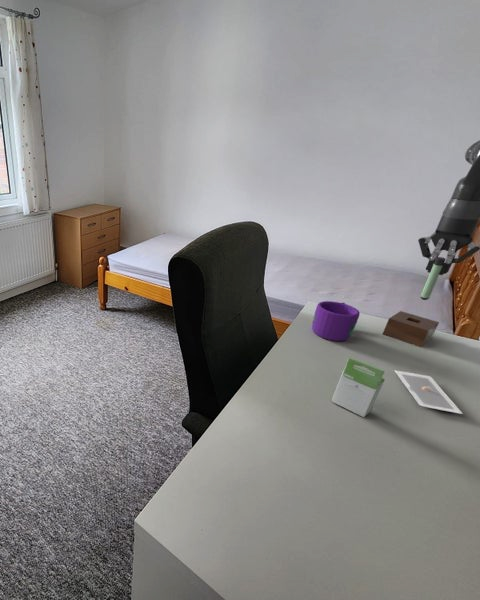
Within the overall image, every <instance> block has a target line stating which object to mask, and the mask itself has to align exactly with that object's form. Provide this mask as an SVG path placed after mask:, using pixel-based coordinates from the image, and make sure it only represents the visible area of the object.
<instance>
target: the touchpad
mask: <svg viewBox="0 0 480 600" xmlns="http://www.w3.org/2000/svg"><path fill="white" fill-rule="evenodd" d="M394 372H395V374H396V375H397V377H398V378H399V379H400V381H401V382H402V384H404V386H405V387H406V389H407V390H408V391H409V393H410V394H411V395H412V397H413V399H414V400H415V401H416V403H418V405H419V406H420V407H423V408H428V409H429V408H430V409H435V410H439V411H445V412H450V413H454V414H460V415H464V413H463V412H462V411H461V410H460V408H459V407H458V406H457V405H456V404H455V403H454V402H453V401H452V399H451V398H450V397H449V396H448V395H447V394H446V393H445V391H444V390H443V389H442V388H441V386H439V384H438V383H437V382H436V380H435V379H433V378H432V376H430V375H425V374H420V373H419V374H418V373H413V372H407V371H402V370H401V371H400V370H394Z"/></svg>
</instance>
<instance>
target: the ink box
mask: <svg viewBox="0 0 480 600" xmlns="http://www.w3.org/2000/svg"><path fill="white" fill-rule="evenodd" d="M360 367H363V368H365V369H367V370H369V371H371V372H369V371H367V370H364V369H362V368H360ZM372 372H373V373H372ZM384 374H385V370H383V369H380V368H378V367H375V366H372V365H370V364H368V363H365V362H362V361H359V360H357V359H354V358H351V357H348V358H347V360H346V364H345V367H344V369H343V370H342V372H341V375H340V377H339V380H338V383H337V385H336V388H335V391H334V392H333V396H332V399H331V403H334V404H336V405H338V406H339V407H342V408H344V409H346V410H348V411H350V412H352V413H354V414H355V415H358V416H359V417H362V418H365V417H366V416H367V415H368V414H370V412H371V410H372V409H373V406H374V404H375V401H376V399H377V398H378V396H379V393H380V391H381V389H382V386H383V384H384V382H385V380H386V379H385V378H383V376H384Z"/></svg>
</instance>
